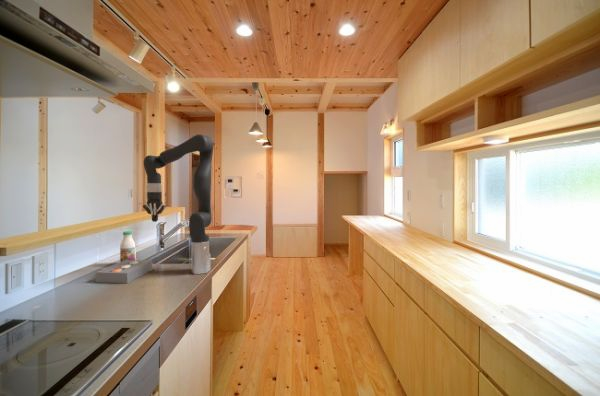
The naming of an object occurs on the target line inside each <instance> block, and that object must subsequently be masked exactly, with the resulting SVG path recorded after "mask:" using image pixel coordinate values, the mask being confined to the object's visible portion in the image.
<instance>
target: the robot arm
mask: <svg viewBox="0 0 600 396" xmlns="http://www.w3.org/2000/svg"><path fill="white" fill-rule="evenodd" d="M214 146H215V145H214V141H213V139H212V138H211V137H210V136H207V135H204V134H195V135H194V136H192V137H190V138H188V139H187V140H185V141H183V142H182V143H180V144H178V145H176V146H173V147H172V148H171V147H170V148H169V149H166V150H164V151H162V152H160V153H159V155H157V156H156V155H151V154H150V155H147V156H145V157H144V158H143V159H144V160H143V167H144V168H143V169H144V171H145V174H146V199H147V200H146V203H145V204H144V205H142V207H143V209H144V210H145V212H146V213H147V214H148V215H151V221H152V222H158V220H159V215H160V214H162V213H163V212H164V211H165V209H166V207H167V205H166V204H164V203H163V201H162V200H163V194H162V193H163V191H162V190H163V186H162V174H161V173H159V172H158V171H157V169H159V170H160V169H162V168H164V167H165V166H167V165H169V164H171V163H173V162H176V161H179V160H180V159H182V158H183V157H184V156H186V155H187V154H190V153H194V152H196V153H197V152H199V155H198V156H199V159H198V164H197V167H196V168H195V171H194V174H193V181H192V182H193V186H192V187H193V191H194V194H195V197H196V199H197V203H198V205H197V206H198V210H197V212H194V213H192V214H191V215H190V216H189V220H188V227H189V228H188V229H189V237H190V240H191V241H190V243H191V247H190V248H191V253H190V254H191V273H192V274H194V275H201V274H203V275H204V274H208V272H210V271H211V253H210V236H209V234H207V233H206V228H208V227H209V226H210V225H211V223H212V206H211V198H212V197H211V196H212V195H211V191H212V161H213V155H214V154H213V153H214Z"/></svg>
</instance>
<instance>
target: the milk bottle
mask: <svg viewBox="0 0 600 396" xmlns="http://www.w3.org/2000/svg"><path fill="white" fill-rule="evenodd" d="M122 236H123V238H122V240H121V243H120V246H119V247H120V248H119V253H120V254H119V255H120V257H119V259H120V261H119V262H122V261H124V260H137V257H136V256H137V254H136V249H137V248H136V243H135V241H134V239H133V231H131V230H128V231H123V232H122Z"/></svg>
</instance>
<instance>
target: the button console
mask: <svg viewBox="0 0 600 396" xmlns="http://www.w3.org/2000/svg"><path fill="white" fill-rule="evenodd" d="M133 261H138V262H139V263H137V264H129V263H130V262H133ZM123 265H131V266H130V267H128V268H121V266H123ZM114 269H122V271H119V272H112V270H114ZM153 269H154V267H153V260H141V259H140V260H137V259H136V260H124V261H122V262H120V261H119V262H117V263H115V264H112V265H110V266H107V267H105V268H102V269H101V270H98V271H96V272H94V273H95V274H94V275H95V283H101V284H103V283H105V284H129V283H130V282H133V281H134V280H136V279H139V278H140V277H141V276H143V275H145V274H147V273H149V272H151V271H152V270H153Z"/></svg>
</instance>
